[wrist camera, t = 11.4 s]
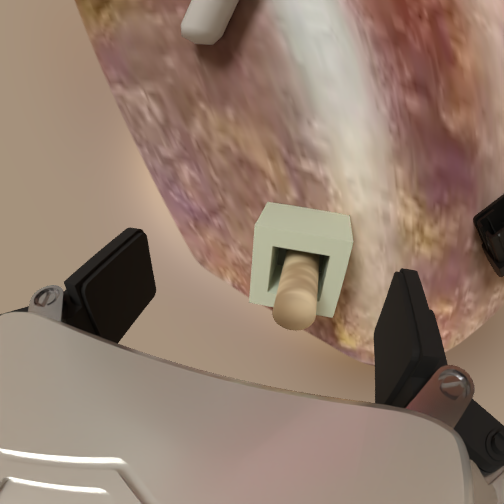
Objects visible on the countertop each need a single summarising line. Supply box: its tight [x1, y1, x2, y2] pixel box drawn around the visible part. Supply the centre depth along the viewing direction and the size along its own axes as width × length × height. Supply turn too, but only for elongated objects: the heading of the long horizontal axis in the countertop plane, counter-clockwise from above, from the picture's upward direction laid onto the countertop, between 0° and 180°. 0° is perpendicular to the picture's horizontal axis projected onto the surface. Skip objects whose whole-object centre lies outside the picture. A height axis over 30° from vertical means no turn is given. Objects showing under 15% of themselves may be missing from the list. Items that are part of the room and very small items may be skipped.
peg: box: [272, 249, 320, 330], centre depth 32 cm, size 4×4×12 cm
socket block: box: [249, 202, 353, 318], centre depth 36 cm, size 10×10×7 cm
